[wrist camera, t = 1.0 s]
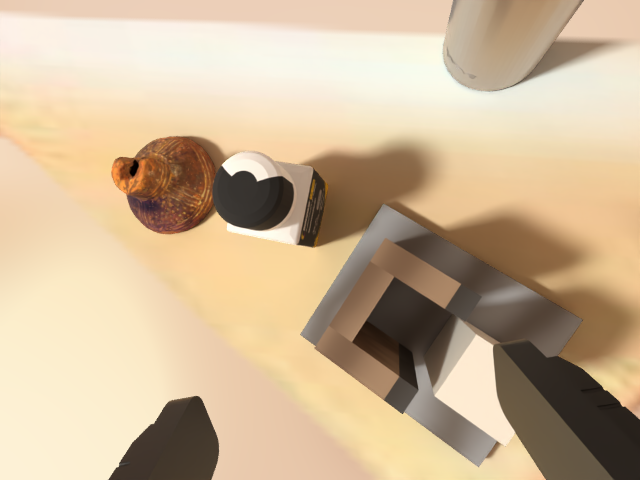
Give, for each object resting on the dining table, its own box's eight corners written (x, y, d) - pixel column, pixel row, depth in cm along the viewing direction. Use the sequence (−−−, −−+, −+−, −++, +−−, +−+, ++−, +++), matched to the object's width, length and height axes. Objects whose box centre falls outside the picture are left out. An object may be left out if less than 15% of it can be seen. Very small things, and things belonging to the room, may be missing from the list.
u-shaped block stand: (575, 317, 29) (673, 348, 19) (475, 459, 30) (516, 561, 20) (383, 205, 33) (378, 181, 23) (303, 332, 35) (264, 362, 24)
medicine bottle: (316, 248, 35) (276, 242, 23) (257, 236, 37) (192, 225, 25) (329, 184, 35) (296, 146, 23) (269, 175, 37) (210, 135, 25)
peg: (504, 345, 29) (551, 382, 20) (472, 390, 29) (505, 446, 20) (453, 312, 30) (476, 334, 21) (423, 356, 30) (434, 396, 21)
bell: (124, 215, 41) (68, 205, 34) (158, 127, 41) (108, 100, 34) (197, 250, 38) (152, 247, 31) (234, 157, 38) (197, 133, 31)
